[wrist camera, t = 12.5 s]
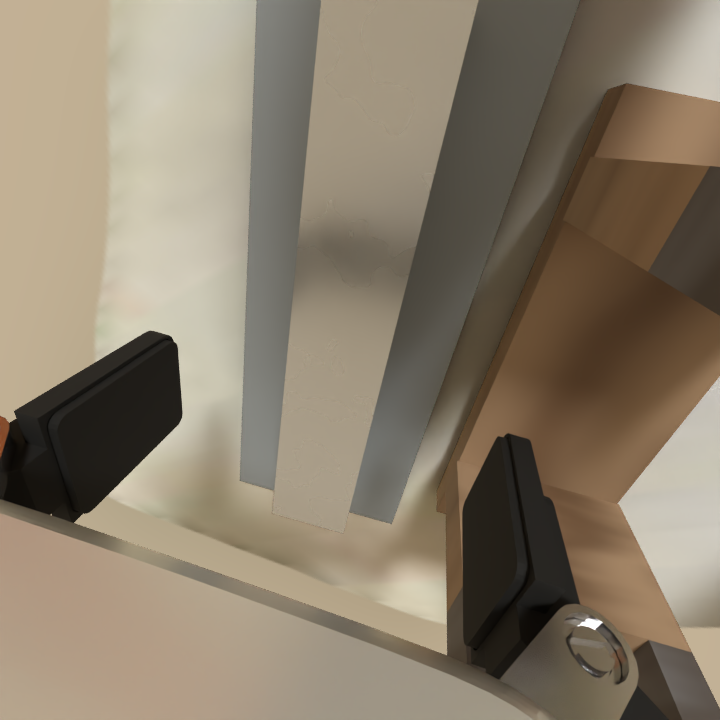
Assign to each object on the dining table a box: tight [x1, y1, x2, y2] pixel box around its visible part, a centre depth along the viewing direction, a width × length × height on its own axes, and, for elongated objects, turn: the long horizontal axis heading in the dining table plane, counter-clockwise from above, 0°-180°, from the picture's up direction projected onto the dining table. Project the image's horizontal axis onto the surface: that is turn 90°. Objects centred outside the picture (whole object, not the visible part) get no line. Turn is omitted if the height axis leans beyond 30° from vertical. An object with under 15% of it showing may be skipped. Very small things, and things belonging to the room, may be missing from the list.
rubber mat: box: [240, 0, 580, 524], centre depth 18 cm, size 10×26×1 cm, turn 169°
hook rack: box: [437, 83, 720, 720], centre depth 13 cm, size 8×20×12 cm, turn 169°
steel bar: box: [272, 0, 478, 534], centre depth 16 cm, size 4×22×3 cm, turn 169°
